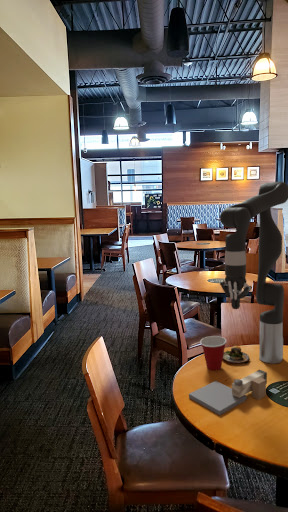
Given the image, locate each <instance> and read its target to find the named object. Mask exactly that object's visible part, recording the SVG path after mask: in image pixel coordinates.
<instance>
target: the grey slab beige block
mask: <svg viewBox="0 0 288 512" xmlns="http://www.w3.org/2000/svg"><path fill="white" fill-rule="evenodd" d="M266 387H267V383H266V380H265V379H262V378H260V377H257V378H255V379H253V380H252V391H251V396H252V398H253V399H256V400H258V401H261V399H263V398H264V397H266V395H267V389H266ZM188 397H189V398H188V399H190V400H191V401H194V402H196V403H197V404H200V405H201V406H202V407H205V408H206V409H208V410H209V411H211V412H213V413H215V414H217V415H218V416H221V415H223V414H224V413H227V412H228V411H230V410H232V409H233V408H235V407H236V406H239V405H241V404H242V403H245V402H246V401H247V398H248V396H247V394H245V395H244V396H242V397H240V398H238V397H236V396H234V395H232V387H229V386H227V385H225V384H223V383H221V382H218V381H217V380H214V381H212V382H211V383H208V384H206V385H204V386H203V387H200V388H198V389H195V390H194V391H191V392H189V393H188Z"/></svg>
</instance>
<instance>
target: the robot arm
mask: <svg viewBox="0 0 288 512" xmlns="http://www.w3.org/2000/svg"><path fill="white" fill-rule="evenodd" d="M287 201H288V184H287V182H284V181H271V182H265V183H261V185H260V186H259V189H258V195H254V196H252V197H249V198H247V199H245V200H243V201H242V202H240V203H237V204H233V205H230V206H227V207H225V208H224V209H222V211H221V213H220V215H219V221H220V223H221V225H223V226H224V227H226V228H236V230H235V232H233V233H230V234H227V235H226V236H225V242H224V243H225V254H224V275H225V278H224V281H221V282H220V283H219V285H220V286H221V288H222V291H223V292H224V294H225V295H226V297H229V298H230V302H231V303H230V305H231V308H232V309H233V310H238V309H239V308H240V307H241V300H242V299H244V298H245V297H247V295H248V294H249V293H250V291H251V290H252V288H253V287H252V285H249V284H248V283H247V279H246V275H247V253H246V240H247V234H248V230H249V227H250V224H251V220H252V219H253V218H255V217H256V216H258V215H259V230H258V231H259V232H258V233H259V234H258V268H257V269H258V270H257V282H256V290H255V291H256V292H255V298H256V302H257V304H258V305H261V306H262V305H264V306H271V307H273V306H274V308H272V309H270V310H269V309H268V310H265V311H262V312H261V313H260V314H259V345H258V346H259V351H258V353H259V354H258V356H259V360H260V361H261V362H263V363H267V364H280V363H282V362H283V359H284V337H283V328H284V326H283V322H284V317H283V316H284V303H285V302H284V299H285V288H284V286H283V284H279V283H267V282H266V281H267V277H268V274H269V272H270V271H271V269H272V268H273V266H274V265H275V264H276V262H277V261H278V260H279V258H280V257H281V255H282V252H283V236H282V233H281V231H280V229H279V227H278V225H277V224H276V222H275V221H274V219H273V216H272V209H271V208H274V207H276V206H279V205H283V204H285V203H286V202H287Z"/></svg>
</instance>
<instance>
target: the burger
mask: <svg viewBox="0 0 288 512" xmlns="http://www.w3.org/2000/svg"><path fill="white" fill-rule="evenodd" d="M223 360H225V361H227V362H229V363H233V364H234V363H235V364H239V363H245V362H246V363H247V364H249V362H250V356H249V355H248V353H245V352H243V351H242V348H241V346H239V345H234V346H231V348H230V350H226V351H224V354H223Z"/></svg>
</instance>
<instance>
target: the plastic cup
mask: <svg viewBox="0 0 288 512" xmlns="http://www.w3.org/2000/svg"><path fill="white" fill-rule="evenodd" d="M199 343H200V345H201V347H202V350H203V355H204V360H205V364H206V368H207V369H208V370H210V371H219V370H221V369H222V366H223V365H222V364H223V360H224V359H223V354H224V352H225V348H226V344H227V339H226V338H225V337H222V336H218V335H211V336H205V337H202V338H201V339H200V340H199Z"/></svg>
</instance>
